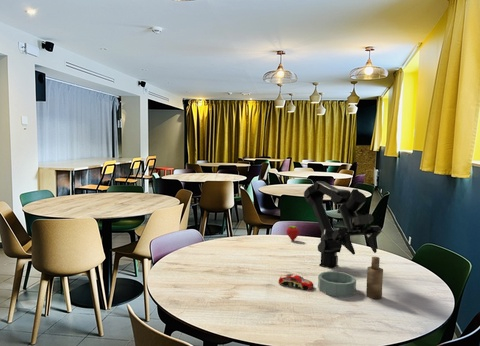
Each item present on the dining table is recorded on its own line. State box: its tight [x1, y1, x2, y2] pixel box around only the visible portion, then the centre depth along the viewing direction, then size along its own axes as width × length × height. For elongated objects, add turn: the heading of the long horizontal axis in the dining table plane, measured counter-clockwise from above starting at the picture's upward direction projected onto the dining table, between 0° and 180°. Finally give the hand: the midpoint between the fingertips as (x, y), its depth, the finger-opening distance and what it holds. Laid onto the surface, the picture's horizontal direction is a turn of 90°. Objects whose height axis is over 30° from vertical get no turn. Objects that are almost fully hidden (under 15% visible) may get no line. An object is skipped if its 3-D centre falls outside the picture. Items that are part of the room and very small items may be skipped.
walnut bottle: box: [365, 256, 384, 301], centre depth 126 cm, size 5×5×14 cm
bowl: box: [317, 270, 357, 298], centre depth 132 cm, size 13×13×4 cm
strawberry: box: [286, 225, 300, 242], centre depth 200 cm, size 6×8×10 cm
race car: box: [278, 273, 314, 291], centre depth 136 cm, size 13×5×4 cm, turn 63°
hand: (365, 253), depth 134 cm, fingers open, 9 cm apart
